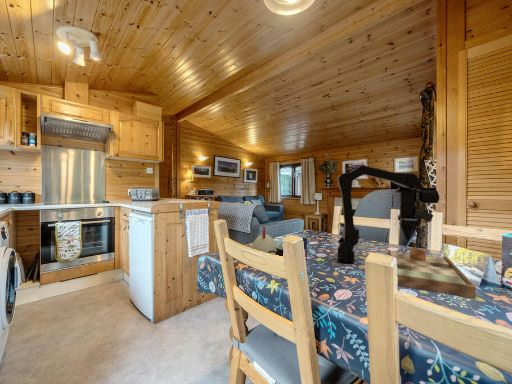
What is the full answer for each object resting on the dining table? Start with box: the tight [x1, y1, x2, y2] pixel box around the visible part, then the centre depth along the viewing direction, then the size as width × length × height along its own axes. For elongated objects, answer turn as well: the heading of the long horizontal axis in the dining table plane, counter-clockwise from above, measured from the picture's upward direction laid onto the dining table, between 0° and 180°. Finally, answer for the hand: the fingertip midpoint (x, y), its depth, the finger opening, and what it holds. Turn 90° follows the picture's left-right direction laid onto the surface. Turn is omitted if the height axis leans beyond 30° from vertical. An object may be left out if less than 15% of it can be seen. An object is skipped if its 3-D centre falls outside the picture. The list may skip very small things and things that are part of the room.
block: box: [409, 247, 427, 261], centre depth 100 cm, size 5×5×4 cm
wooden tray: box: [387, 249, 477, 299], centre depth 90 cm, size 22×35×4 cm, turn 152°
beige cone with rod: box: [249, 226, 278, 255], centre depth 108 cm, size 14×14×15 cm
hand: (407, 240), depth 98 cm, fingers closed
